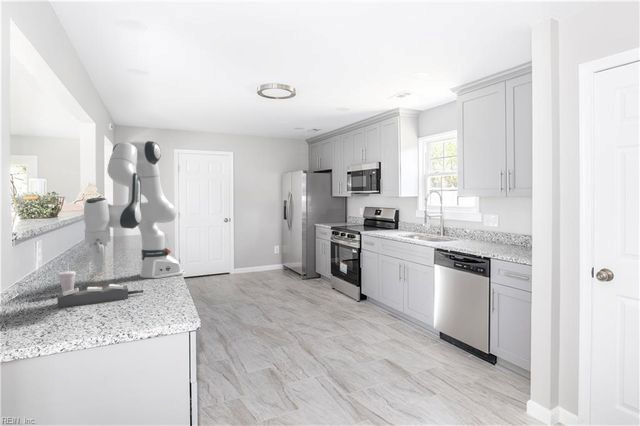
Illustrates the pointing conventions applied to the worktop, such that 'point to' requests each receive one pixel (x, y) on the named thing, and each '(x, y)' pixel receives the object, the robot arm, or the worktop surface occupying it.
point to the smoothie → (67, 279)
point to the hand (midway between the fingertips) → (99, 271)
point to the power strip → (94, 296)
